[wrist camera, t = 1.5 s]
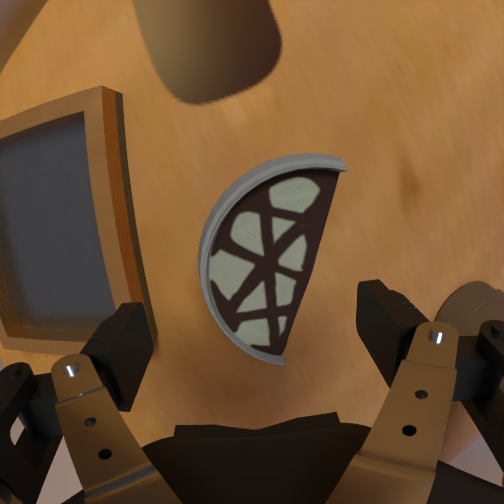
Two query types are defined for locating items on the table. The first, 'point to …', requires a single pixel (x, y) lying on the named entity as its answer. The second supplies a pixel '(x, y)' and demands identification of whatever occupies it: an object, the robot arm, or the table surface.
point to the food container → (266, 249)
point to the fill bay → (66, 223)
